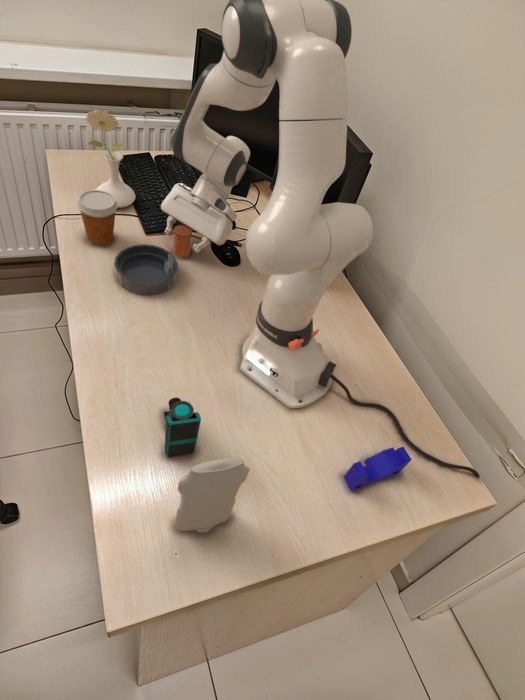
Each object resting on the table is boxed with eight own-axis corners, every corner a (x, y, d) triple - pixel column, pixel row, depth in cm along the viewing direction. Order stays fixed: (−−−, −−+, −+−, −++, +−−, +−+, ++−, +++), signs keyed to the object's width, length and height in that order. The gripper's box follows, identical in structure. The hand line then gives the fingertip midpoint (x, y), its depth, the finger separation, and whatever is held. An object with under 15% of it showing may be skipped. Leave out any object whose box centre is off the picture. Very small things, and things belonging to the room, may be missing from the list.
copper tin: (193, 255, 126) (195, 233, 121) (178, 260, 124) (180, 237, 118) (183, 245, 128) (185, 223, 123) (168, 250, 126) (170, 227, 120)
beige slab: (174, 539, 78) (183, 484, 61) (170, 515, 80) (177, 456, 64) (234, 525, 81) (258, 469, 65) (229, 503, 84) (250, 444, 67)
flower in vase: (141, 196, 139) (142, 112, 121) (125, 216, 132) (123, 128, 113) (100, 183, 139) (94, 97, 121) (82, 202, 132) (72, 112, 113)
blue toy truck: (387, 454, 97) (399, 440, 93) (398, 473, 95) (411, 459, 90) (339, 470, 92) (349, 456, 88) (350, 490, 90) (361, 477, 86)
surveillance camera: (191, 374, 85) (201, 420, 80) (186, 409, 94) (195, 453, 89) (160, 377, 84) (169, 425, 78) (158, 413, 93) (166, 458, 87)
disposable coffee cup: (114, 253, 121) (112, 213, 112) (76, 246, 119) (71, 206, 110) (122, 232, 127) (121, 193, 118) (86, 225, 126) (82, 185, 117)
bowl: (188, 284, 119) (189, 272, 116) (135, 304, 110) (135, 292, 107) (156, 250, 125) (156, 238, 122) (103, 267, 116) (102, 254, 114)
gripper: (172, 174, 121) (145, 220, 122) (234, 210, 116) (206, 258, 117) (182, 184, 127) (157, 228, 128) (242, 219, 122) (214, 264, 123)
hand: (180, 242), depth 123 cm, fingers open, 8 cm apart
